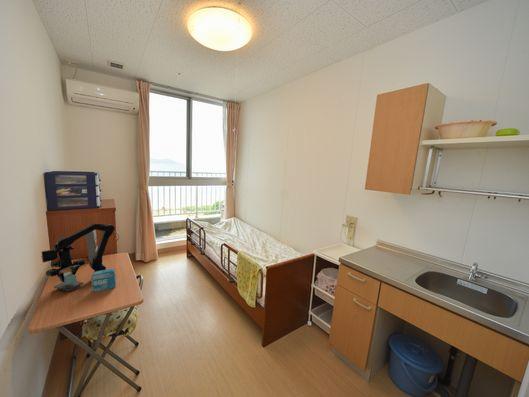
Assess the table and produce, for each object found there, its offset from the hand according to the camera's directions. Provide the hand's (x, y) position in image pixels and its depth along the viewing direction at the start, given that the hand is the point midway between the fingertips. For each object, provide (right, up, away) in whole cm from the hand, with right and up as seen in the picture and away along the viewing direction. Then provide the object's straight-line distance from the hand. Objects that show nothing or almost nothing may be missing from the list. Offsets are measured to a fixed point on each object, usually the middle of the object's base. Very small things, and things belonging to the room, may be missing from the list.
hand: (68, 279), depth 142 cm
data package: (+24, -6, 0) cm, 25 cm away
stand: (0, -6, +1) cm, 6 cm away
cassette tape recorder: (-22, +1, +49) cm, 54 cm away
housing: (0, -1, 0) cm, 1 cm away
